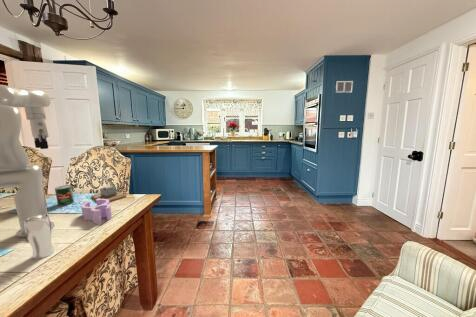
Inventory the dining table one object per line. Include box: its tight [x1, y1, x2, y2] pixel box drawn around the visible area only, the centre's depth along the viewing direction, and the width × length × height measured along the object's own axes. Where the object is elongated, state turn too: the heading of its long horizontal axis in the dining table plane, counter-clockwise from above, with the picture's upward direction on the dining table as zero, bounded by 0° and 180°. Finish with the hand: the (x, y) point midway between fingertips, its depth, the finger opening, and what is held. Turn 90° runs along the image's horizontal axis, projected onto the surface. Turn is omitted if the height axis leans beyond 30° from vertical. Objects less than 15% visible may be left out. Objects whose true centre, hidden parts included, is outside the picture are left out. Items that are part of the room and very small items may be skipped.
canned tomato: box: [54, 184, 75, 207], centre depth 126 cm, size 8×8×11 cm
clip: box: [80, 198, 113, 225], centre depth 108 cm, size 20×12×7 cm, turn 50°
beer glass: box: [24, 214, 55, 260], centre depth 76 cm, size 7×7×15 cm
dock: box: [91, 185, 127, 203], centre depth 135 cm, size 18×14×8 cm
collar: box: [99, 186, 118, 198], centre depth 135 cm, size 7×7×5 cm
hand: (42, 148), depth 112 cm, fingers open, 9 cm apart
